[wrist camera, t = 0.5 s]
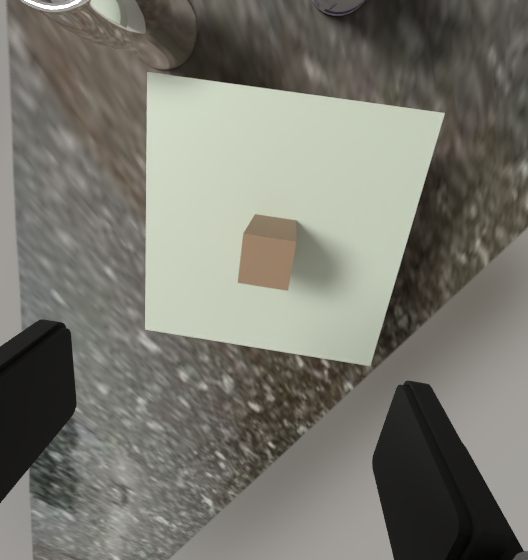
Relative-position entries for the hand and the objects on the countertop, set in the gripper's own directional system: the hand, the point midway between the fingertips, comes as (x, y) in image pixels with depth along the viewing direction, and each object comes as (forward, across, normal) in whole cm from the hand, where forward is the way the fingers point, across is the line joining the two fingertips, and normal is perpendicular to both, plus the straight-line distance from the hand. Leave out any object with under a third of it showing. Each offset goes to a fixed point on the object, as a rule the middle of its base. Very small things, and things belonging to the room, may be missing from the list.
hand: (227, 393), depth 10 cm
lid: (+18, 0, 0) cm, 18 cm away
